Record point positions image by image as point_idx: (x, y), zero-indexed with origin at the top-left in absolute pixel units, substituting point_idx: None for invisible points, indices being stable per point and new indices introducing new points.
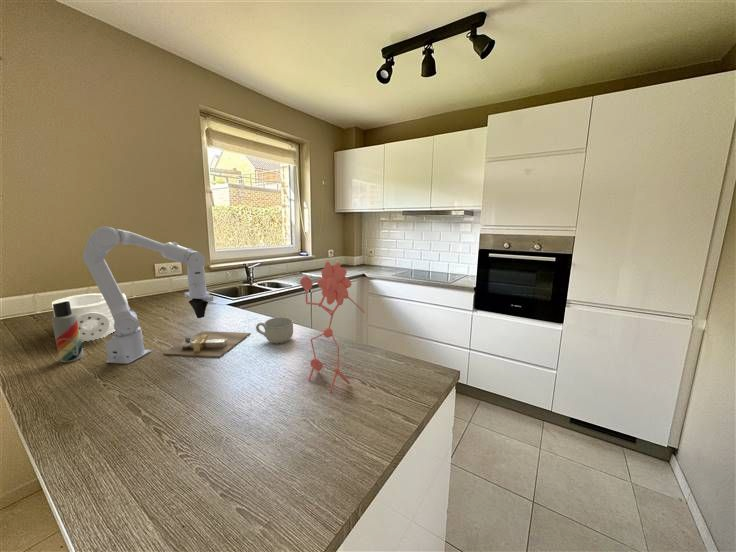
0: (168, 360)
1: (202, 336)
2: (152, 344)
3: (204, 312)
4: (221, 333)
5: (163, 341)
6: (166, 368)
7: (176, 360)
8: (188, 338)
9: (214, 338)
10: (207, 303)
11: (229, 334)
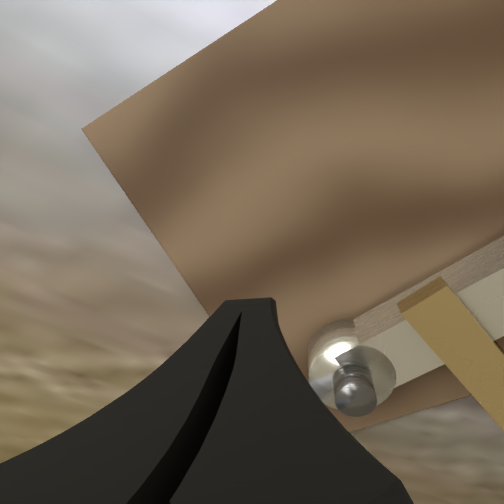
0: (397, 455)
1: (440, 333)
2: (86, 405)
3: (279, 334)
4: (297, 48)
5: (80, 360)
6: (481, 493)
7: (439, 440)
8: (375, 404)
9: (357, 162)
10: (359, 450)
11: (400, 7)
